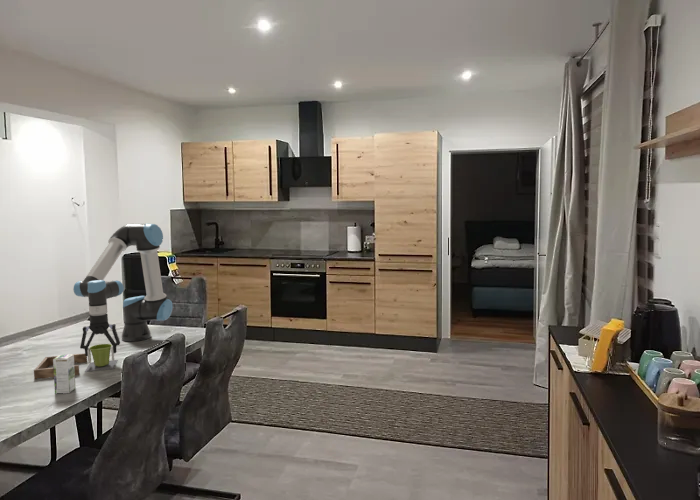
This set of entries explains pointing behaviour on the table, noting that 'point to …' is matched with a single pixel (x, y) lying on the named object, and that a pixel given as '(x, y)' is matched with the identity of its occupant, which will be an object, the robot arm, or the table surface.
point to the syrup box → (64, 373)
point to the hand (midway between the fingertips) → (101, 361)
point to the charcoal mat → (97, 368)
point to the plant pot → (101, 354)
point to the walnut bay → (45, 372)
